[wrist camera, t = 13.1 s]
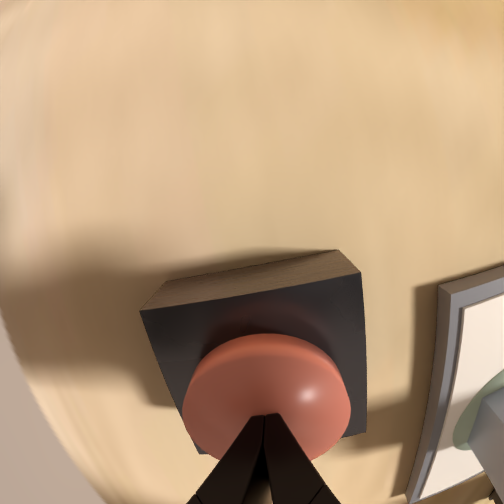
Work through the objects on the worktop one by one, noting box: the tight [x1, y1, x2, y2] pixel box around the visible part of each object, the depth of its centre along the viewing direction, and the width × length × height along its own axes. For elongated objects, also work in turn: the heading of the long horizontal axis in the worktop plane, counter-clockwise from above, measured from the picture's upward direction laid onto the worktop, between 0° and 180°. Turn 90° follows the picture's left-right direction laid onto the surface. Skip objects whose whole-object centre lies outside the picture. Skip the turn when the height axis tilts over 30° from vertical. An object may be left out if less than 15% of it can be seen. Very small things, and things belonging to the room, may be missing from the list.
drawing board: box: [405, 265, 504, 504], centre depth 13 cm, size 10×18×2 cm, turn 11°
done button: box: [182, 334, 351, 461], centre depth 10 cm, size 5×5×4 cm
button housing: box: [140, 250, 367, 454], centre depth 11 cm, size 7×7×3 cm
